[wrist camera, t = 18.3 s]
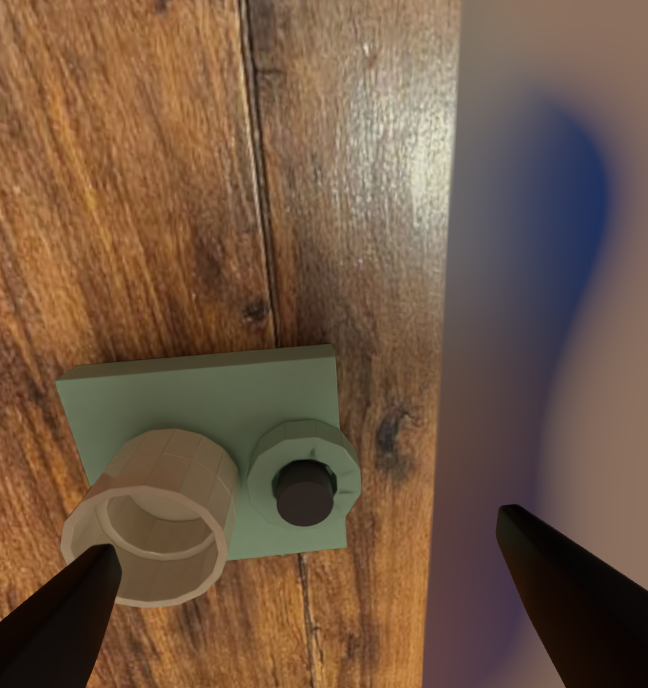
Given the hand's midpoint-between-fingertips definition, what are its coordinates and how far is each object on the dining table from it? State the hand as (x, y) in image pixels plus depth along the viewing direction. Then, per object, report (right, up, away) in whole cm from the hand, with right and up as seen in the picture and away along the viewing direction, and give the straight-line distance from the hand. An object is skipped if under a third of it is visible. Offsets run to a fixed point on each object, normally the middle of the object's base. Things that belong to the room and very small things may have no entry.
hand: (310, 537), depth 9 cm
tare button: (-1, -2, +10) cm, 10 cm away
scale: (-5, -2, +12) cm, 14 cm away
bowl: (-7, -2, +11) cm, 13 cm away
